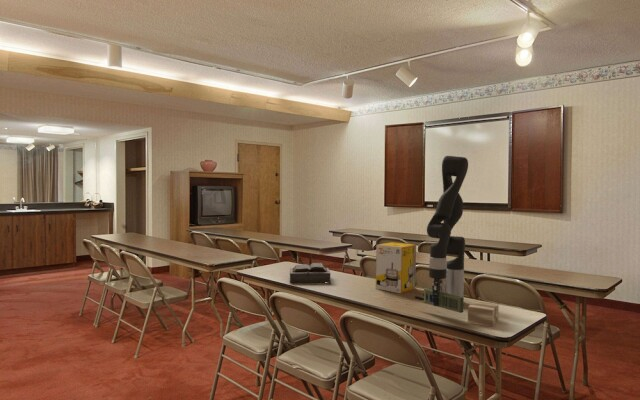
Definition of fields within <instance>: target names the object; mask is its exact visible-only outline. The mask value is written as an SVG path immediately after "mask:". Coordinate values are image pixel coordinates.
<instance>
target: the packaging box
mask: <svg viewBox="0 0 640 400" xmlns="http://www.w3.org/2000/svg"><path fill="white" fill-rule="evenodd" d="M375 246H376V249H375V250H376V251H375V252H376V255H375V258H376V259H375V289H376V290H379V289H381V290H380V291H385V290H386V291H387V292H390V291H391V292H392V293H397V294H403V293H406V292H409V291H411V290H412V291H413V290H415V289H416V270H417V269H416V265H417V260H416V259H417V244H413V243H412V244H411V243H402V242H390V241H389V242H385V243H380V244H376V245H375Z"/></svg>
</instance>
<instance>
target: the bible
mask: <svg viewBox="0 0 640 400" xmlns="http://www.w3.org/2000/svg"><path fill="white" fill-rule="evenodd" d="M331 274H332V273H331V271H330V268H329V267H325V266H324V264H323V263H322V262H313V263H311V264H310V265H309V264H306V263H304V264H295V265H294V267H290V268H289V284H290V283H296V284H297V283H314V284H315V283H316V284H317V283H325V282H329V283H328V284H331Z"/></svg>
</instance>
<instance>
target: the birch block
mask: <svg viewBox="0 0 640 400" xmlns="http://www.w3.org/2000/svg"><path fill="white" fill-rule="evenodd" d="M499 307H500V306H499V303H498V304H497V303H493V302H485V301H477V300H474V301H473V302H472V303H471V304H470V305H468V306H467V323H468V324H469V323H470V324H475V325H479V326H480V325H481V326H485V327H490V328H492V327H494V325H495V324H496V323H498V321H499Z"/></svg>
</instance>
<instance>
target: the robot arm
mask: <svg viewBox="0 0 640 400" xmlns="http://www.w3.org/2000/svg"><path fill="white" fill-rule="evenodd" d="M468 169H469V160H468V158H467V157H464V156H453V155H446V156H444V157H443V159H442V163H441V175H442V188H443V190H442V192H443V193H442V194H441V195H440V197H439V199H438V201H437V205H436V208H435V212H434V213H433V215H432V217H431V219H430V221H429V222H428V224H427V226H426V234H427V236H428V237H430V238H432V239H438V241H437V242H436V243H432V244H431V245H430V249H429V250H430V252H429V253H430V254H429V256H430V257H429V263H428V264H429V268H428V269H429V270H428V277H429V278H431V279H433V281H432V283H431V284H432V286H431V287H432V290H433V297H434V305H433V306H434V307H437V306H439V297H440V296H439V295H440V293H441V292H443V291H444V293H448V294H452V295H456V296H461V297H464V289H465V288H464V285H465V284H464V283H465V282H464V281H465V280H464V278H465V275H464V274H465V253H466V252H465V251H466V250H465V249H466V240H465V237H463V236H457V235H456V236H455V235H454V236H453V235H451V234H452V230H453V228H454V227H455V225H456V224H458V222H459V221H460V219H462V217H463V212H464V210H463V209H464V206H463V205H464V200H463V198H462V196H461V194H460V190H461V188H462V185H463V183H464V180H465V179H466V176H467V173H468ZM453 177H455V180H453ZM447 255H450V256H451V255H452V256H457V257H455V258H454V259H451V260H447ZM443 280H444V281H443ZM443 285H444V286H443ZM443 287H444V290H443ZM435 293H437V295H435Z"/></svg>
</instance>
